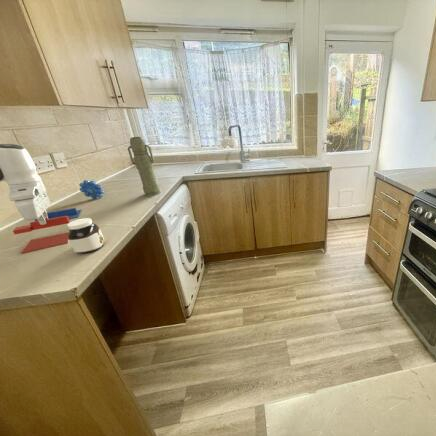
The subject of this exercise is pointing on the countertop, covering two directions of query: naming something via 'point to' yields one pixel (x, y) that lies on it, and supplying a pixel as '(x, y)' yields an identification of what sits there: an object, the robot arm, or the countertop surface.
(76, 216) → the slate-blue mat
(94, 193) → the blue gear
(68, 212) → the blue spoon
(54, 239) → the terracotta mat
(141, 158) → the thermos
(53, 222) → the red stepped bar
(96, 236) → the spread jar
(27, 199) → the robot arm
